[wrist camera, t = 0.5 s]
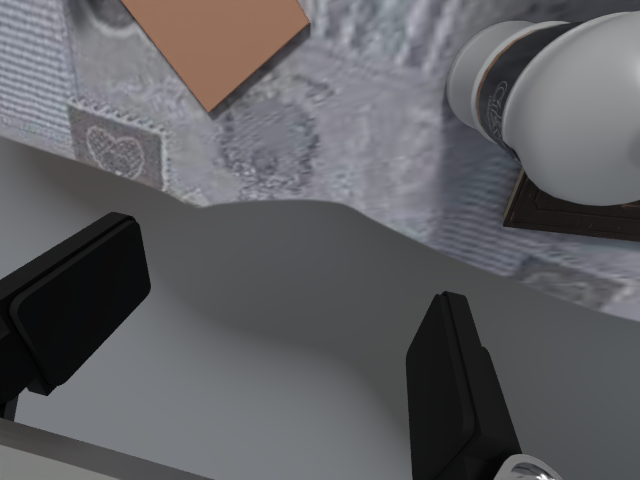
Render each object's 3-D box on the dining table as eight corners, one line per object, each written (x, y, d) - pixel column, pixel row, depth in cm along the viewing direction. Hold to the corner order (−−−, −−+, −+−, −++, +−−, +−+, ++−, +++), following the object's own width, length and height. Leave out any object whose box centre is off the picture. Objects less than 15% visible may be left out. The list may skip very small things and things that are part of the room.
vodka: (567, 77, 30) (1444, 244, 5) (478, 144, 35) (715, 407, 10) (514, -5, 28) (1666, -440, 3) (426, 78, 32) (560, 199, 7)
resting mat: (207, -154, 26) (201, -160, 26) (310, 23, 32) (308, 22, 31) (113, -18, 33) (106, -19, 32) (212, 110, 38) (208, 112, 37)
